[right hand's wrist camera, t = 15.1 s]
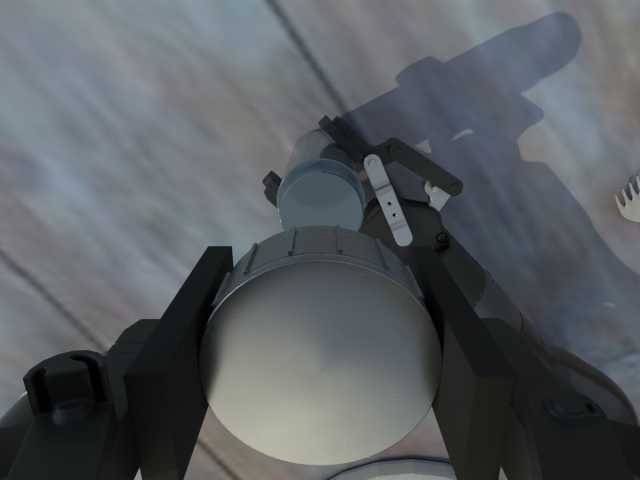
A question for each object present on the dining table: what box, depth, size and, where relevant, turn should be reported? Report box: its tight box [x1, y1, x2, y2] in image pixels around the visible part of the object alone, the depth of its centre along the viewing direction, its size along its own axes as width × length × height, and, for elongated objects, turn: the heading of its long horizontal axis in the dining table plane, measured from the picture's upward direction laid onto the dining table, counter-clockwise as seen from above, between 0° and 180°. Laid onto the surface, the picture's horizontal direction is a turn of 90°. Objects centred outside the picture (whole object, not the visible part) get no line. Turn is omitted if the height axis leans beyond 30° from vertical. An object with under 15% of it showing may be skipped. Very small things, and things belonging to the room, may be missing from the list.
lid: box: [198, 224, 443, 466], centre depth 11 cm, size 6×6×2 cm
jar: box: [277, 130, 365, 232], centre depth 30 cm, size 5×5×16 cm
